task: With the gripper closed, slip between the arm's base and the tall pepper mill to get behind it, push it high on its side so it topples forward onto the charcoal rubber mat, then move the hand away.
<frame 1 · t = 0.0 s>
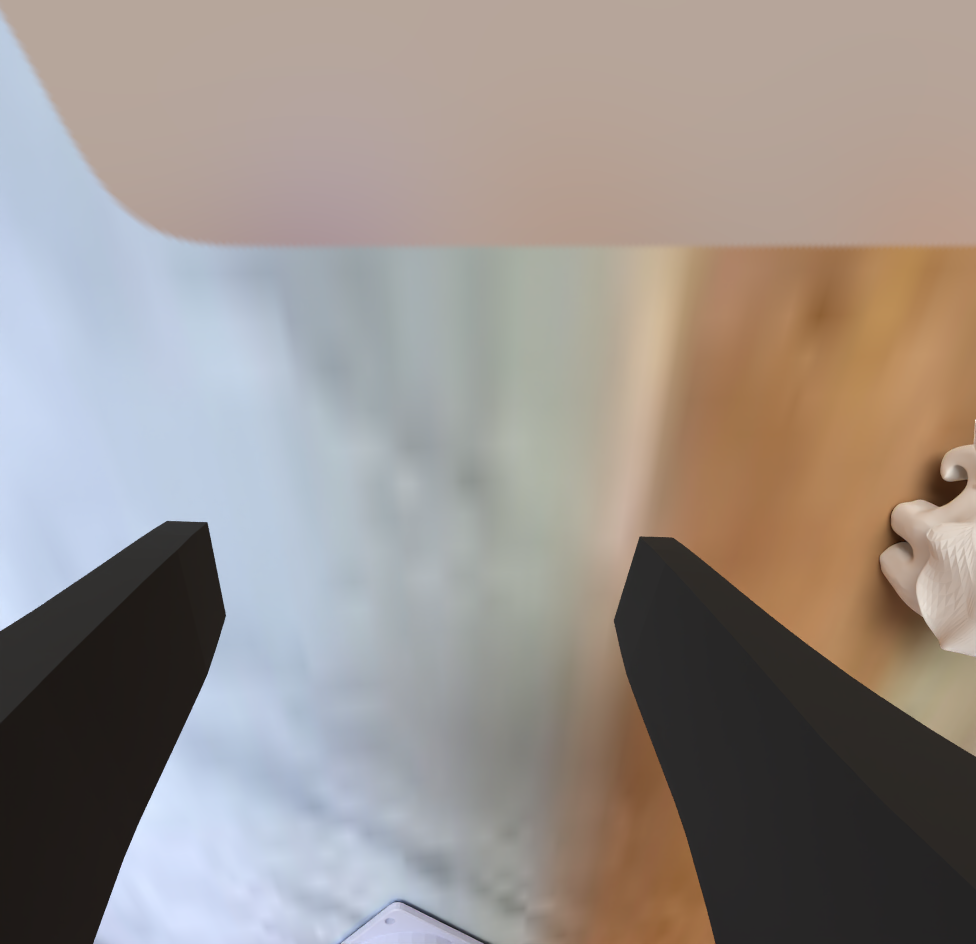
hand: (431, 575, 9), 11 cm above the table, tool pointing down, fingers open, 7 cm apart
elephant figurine: (935, 508, 23), on the table
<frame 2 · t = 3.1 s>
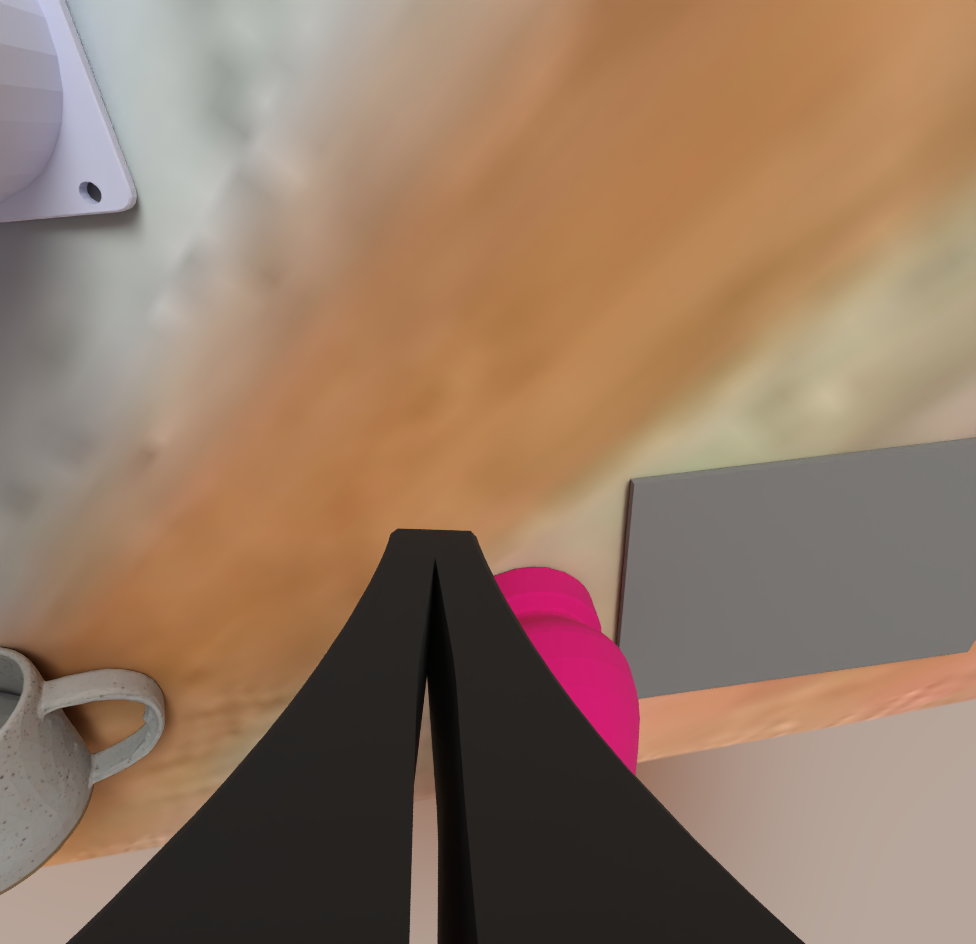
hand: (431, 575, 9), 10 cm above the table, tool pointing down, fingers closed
ceramic mug: (50, 690, 25), on the table
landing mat: (823, 576, 26), on the table
pepper mill: (524, 612, 25), on the table
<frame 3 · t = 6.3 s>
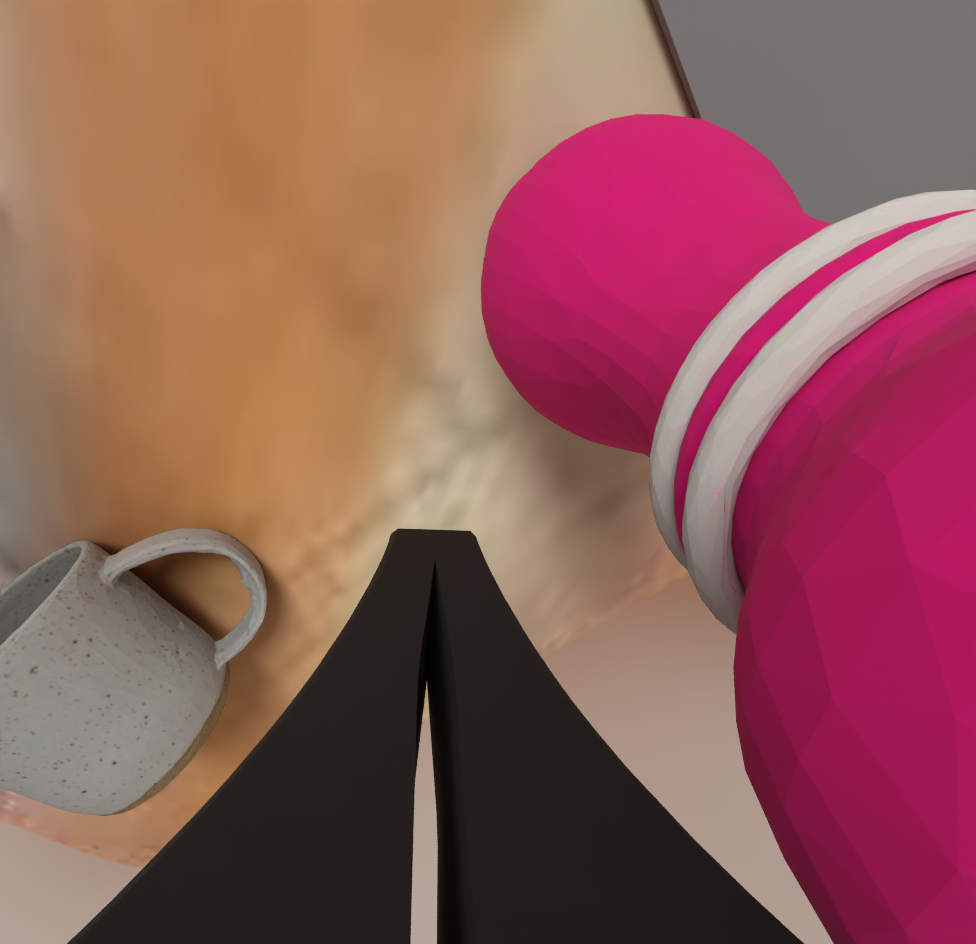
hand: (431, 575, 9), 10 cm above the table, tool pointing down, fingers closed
ceramic mug: (153, 589, 22), on the table
pepper mill: (581, 262, 17), on the table, touching gripper
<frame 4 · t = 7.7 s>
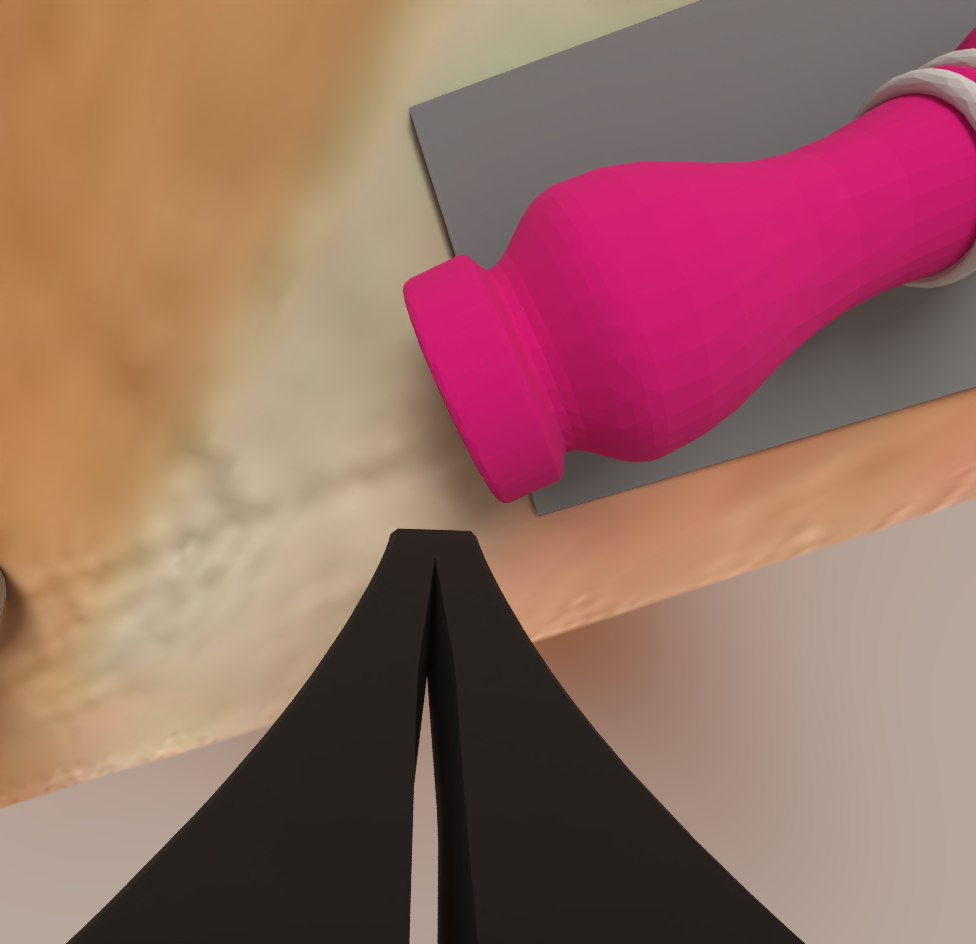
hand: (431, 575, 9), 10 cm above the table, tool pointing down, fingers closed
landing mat: (783, 253, 17), on the table
pepper mill: (448, 400, 14), point 4 cm above the table, touching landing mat
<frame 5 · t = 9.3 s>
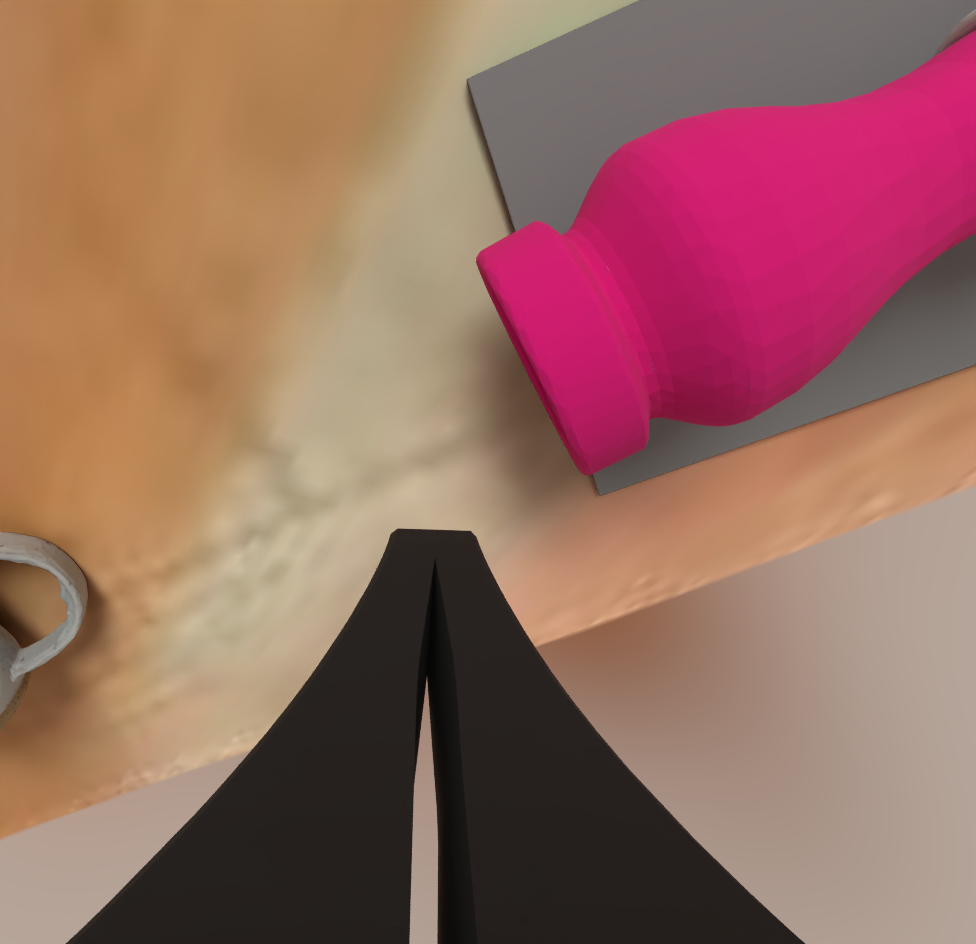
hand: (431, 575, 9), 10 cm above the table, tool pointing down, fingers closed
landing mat: (851, 205, 17), on the table
pepper mill: (522, 374, 14), point 4 cm above the table, touching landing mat
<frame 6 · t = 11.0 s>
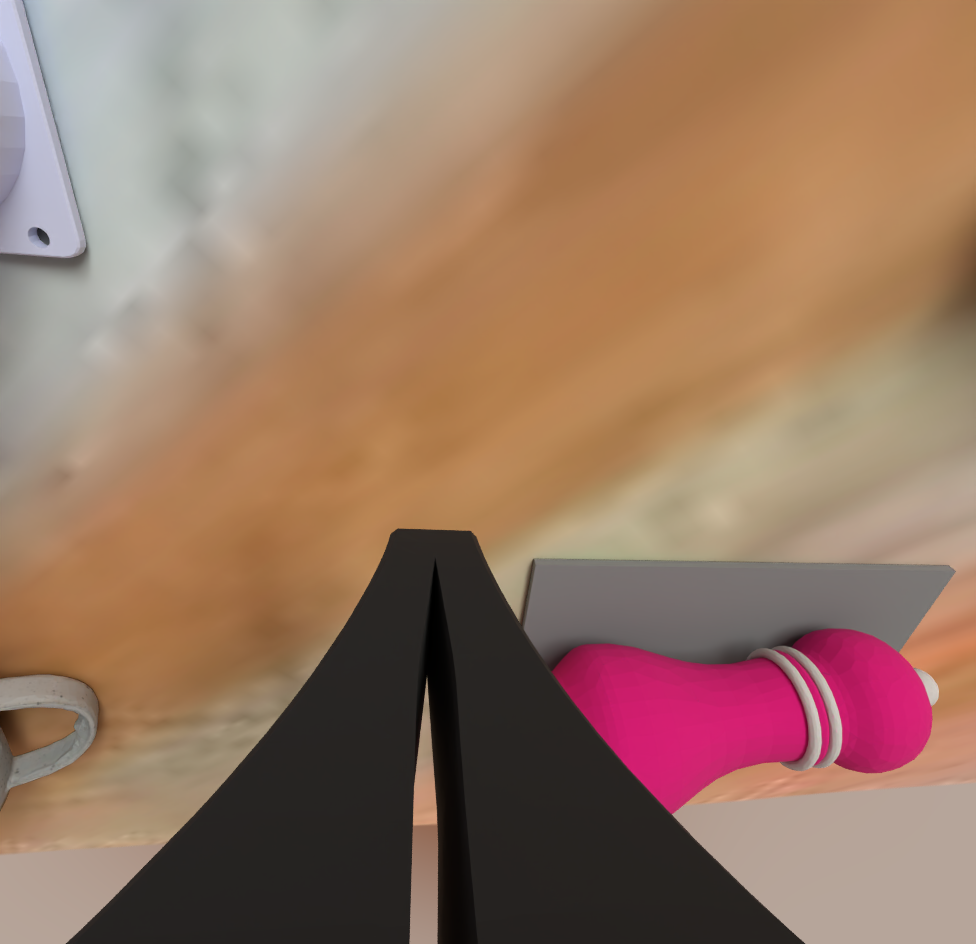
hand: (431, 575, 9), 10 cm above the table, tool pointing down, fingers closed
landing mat: (705, 666, 28), on the table
pepper mill: (499, 746, 22), point 4 cm above the table, touching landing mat
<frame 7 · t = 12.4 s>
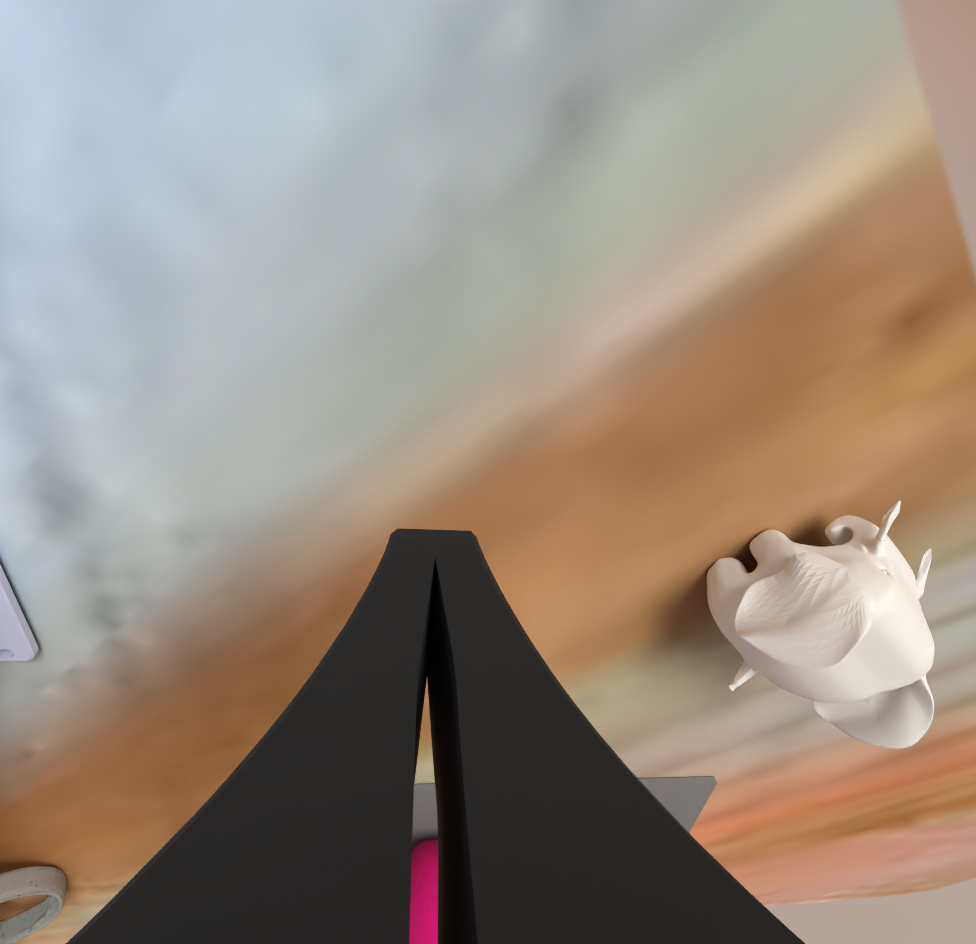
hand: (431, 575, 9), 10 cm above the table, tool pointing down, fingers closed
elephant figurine: (777, 558, 24), on the table
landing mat: (537, 841, 35), on the table
pepper mill: (354, 928, 30), point 4 cm above the table, touching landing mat
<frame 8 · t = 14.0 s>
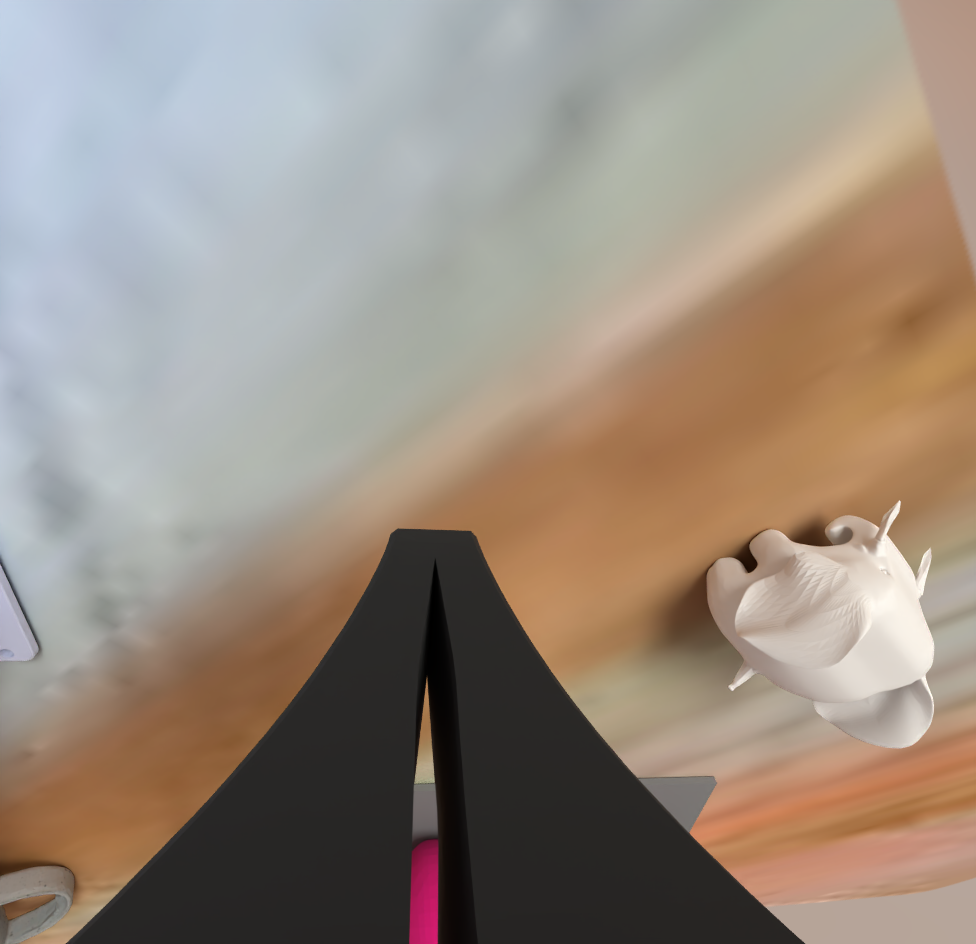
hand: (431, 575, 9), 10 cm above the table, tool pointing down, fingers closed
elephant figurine: (777, 558, 24), on the table
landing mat: (537, 841, 35), on the table
pepper mill: (354, 928, 30), point 4 cm above the table, touching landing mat
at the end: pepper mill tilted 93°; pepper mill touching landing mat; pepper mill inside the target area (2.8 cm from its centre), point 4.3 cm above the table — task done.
